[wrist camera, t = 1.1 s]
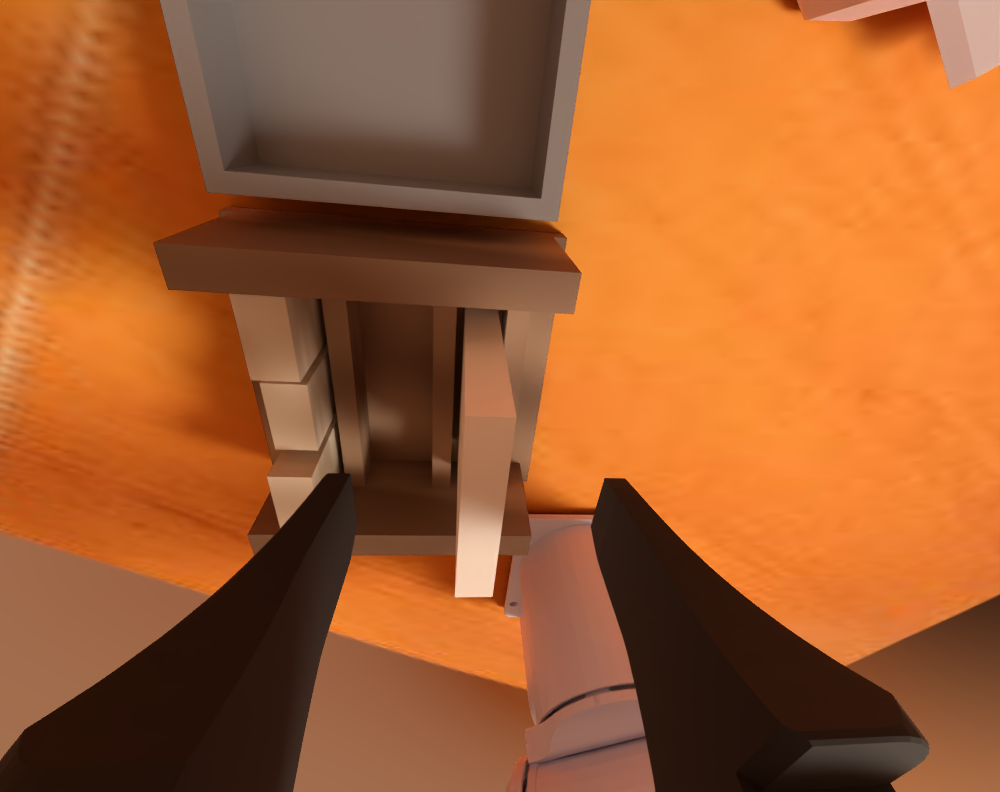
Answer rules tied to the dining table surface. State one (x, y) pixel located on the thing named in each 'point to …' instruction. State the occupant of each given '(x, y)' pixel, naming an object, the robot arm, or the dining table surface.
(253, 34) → the tray
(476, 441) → the sheet
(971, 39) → the charger
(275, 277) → the rack
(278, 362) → the offcuts
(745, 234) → the dining table surface
